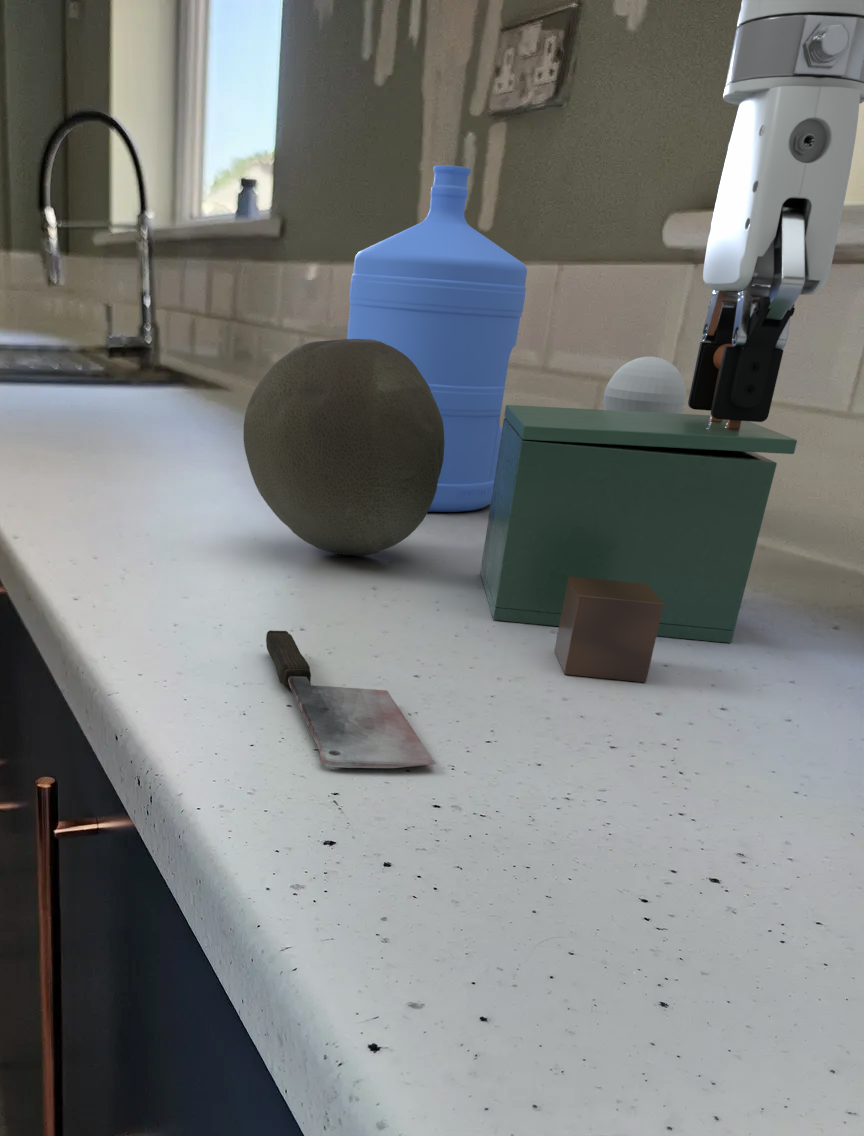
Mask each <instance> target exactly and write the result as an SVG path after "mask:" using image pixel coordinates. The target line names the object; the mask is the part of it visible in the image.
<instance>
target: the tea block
mask: <svg viewBox="0 0 864 1136" xmlns="http://www.w3.org/2000/svg"><path fill="white" fill-rule="evenodd" d="M663 605H664V604H663V602H662V601H661V600H660V599H659V598H658V596H657V595H656V594H655V593H654V592H653V590H652V589H651V588H650V587H649V586H648V584H645V583H634V582H624V581H613V580H603V579H592V578H581V577H571V576H569V577H568V580H567V586H566V591H565V596H564V602H563V607H562V612H561V618H560V623H559V626H558V629H557V635H556V640H555V644H554V645H555V646H554V654H555V655H556V658H557V660H558V662H559V665H560V667H561V669H562V672H563V674H564V675H567V676H576V677H577V676H578V677H584V678H585V677H586V678H596V679H597V678H599V679H608V680H615V681H626V682H637V683H647V680H648V677H649V672H650V667H651V662H652V657H653V653H654V649H655V646H656V645H655V644H656V641H657V640H656V639H657V637H658V636H657V632H658V627H659V623H660V618H661V614H662V609H663Z"/></svg>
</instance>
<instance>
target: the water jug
mask: <svg viewBox="0 0 864 1136" xmlns="http://www.w3.org/2000/svg"><path fill="white" fill-rule="evenodd" d="M471 170H472V169H471V168H470V167H467V166H466V167H465V166H459V165H434V166H433V169H432V171H433V173H434V177H433V185H432V186H431V188H430V205H429V211H428V213H427V214H426V215H427V216H425V218H424V219H423V220H422V221H421V222H419V223H417V224H415V225H413V226H410V227H408V228H406V229H404V230H402V231H400V232H398V233H396V234H394V235H392V236H389V237H387V238H385V239H383V240H381V241H378V242H377V243H375V244H373V245H369V247H366V248H364V249H362V250H360V251H358V252H357V254H355V257H354V260H353V261H354V262H353V273H352V274H351V279H350V286H349V295H348V296H349V300H348V302H349V312H348V313H349V315H348V324H347V335H346V339H372V340H377V341H381V342H383V343H385V344H386V345H389V346H392V347H393V348H395V349H397V350H398V351H400V352H402V353H403V354H404V355H406V356H407V357H408V358H409V359H410V360H411V361H412V362H413V363H414V365H415V366H416V367H417V369H418V370H419V372H420V373H421V375H422V377H423V378H424V379H425V381H426V382H427V384H428V386H429V388H430V390H431V393H432V395H433V397H434V400H435V401H436V404H437V406H438V409H439V411H440V414H441V417H442V421H443V426H444V458H443V464H442V469H441V473H440V476H439V479H438V484H437V490H436V493H435V496H434V499H433V502H432V504H431V506H430V508H429V510H428V512H429V513H461V512H462V513H463V512H472V511H477V510H480V509H483V508H485V507H487V506H488V505H491V499H492V493H493V486H494V480H495V473H496V467H497V460H498V454H499V447H500V441H501V434H502V428H503V427H501V426H500V425H501V423H500V422H501V414H502V407H503V401H504V396H505V395H504V394H505V387H506V381H507V374H508V369H509V361H510V357H511V353H512V350H513V348H514V347H515V346H517V341H518V334H519V329H520V328H519V327H520V320H521V317H522V316H523V311H524V307H525V300H526V291H527V288H526V281H527V275H528V274H527V273H528V268H527V265H526V264H525V263H524V262H522V261H520V260H519V259H518V258H516V257H515V256H514V255H512V254H510V253H509V252H508V251H506V250H505V249H503V248H502V247H501V246H499V245H498V244H496V243H495V242H493V241H492V240H490V239H489V238H488V237H487V236H485V235H484V234H482V233H480V232H479V231H478V230H476V229H475V228H473V227H472V226H470V224H469V223H468V222H467V220H466V216H465V209H466V202H467V199H468V193H469V190H468V188H467V187H468V186H467V185H468V179H469V178H468V177H469V176H470V174H471Z"/></svg>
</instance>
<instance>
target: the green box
mask: <svg viewBox="0 0 864 1136" xmlns="http://www.w3.org/2000/svg"><path fill="white" fill-rule="evenodd" d="M501 428H502V434H501V441H500V447H499V454H498V460H497V467H496V473H495V480H494V486H493V493H492V499H491V503H490V507H489V513H488V521H487V525H486V532H485V540H484V548H483V553H482V559H481V565H480V572H479V573H480V577H481V580H482V584H483V587H484V592H485V595H486V598H487V602H488V605H489V609H490V612H491V616H492V619H493V621H499V622H501V621H502V622H511V623H520V624H521V623H522V624H529V625H531V624H532V625H541V626H551V627H559V623H560V618H561V612H562V607H563V602H564V596H565V591H566V586H567V580H568V577H569V576H571V577H581V578H592V579H603V580H613V581H624V582H634V583H645V584H648V586H649V587H650V588H651V589H652V590H653V592H654V593H655V594H656V595H657V596H658V598H659V599H660V600H661V601H662V602H663V604H664V605H663V609H662V614H661V618H660V623H659V627H658V632H657V636H656V637H665V638H674V639H675V638H676V639H684V640H693V641H694V640H695V641H706V642H716V643H726V644H731V643H732V642H733V637H734V633H735V629H736V627H737V626H736V625H737V621H738V618H739V615H740V614H739V613H740V610H741V605H742V602H743V598H744V594H745V591H746V586H747V582H748V580H749V579H748V578H749V575H750V571H751V567H752V563H753V559H754V556H755V551H756V547H757V544H758V540H759V535H760V531H761V527H762V523H763V519H764V517H765V512H766V509H767V505H768V500H769V496H770V493H771V489H772V484H773V480H774V477H775V473H776V470H777V466H778V463H777V461H774V460H772V459H769V458H768V457H765V456H763V455H762V454H760V453H758V452H745V451H726V450H707V449H689V448H670V447H651V446H633V445H614V444H595V443H577V442H558V441H539V440H523V439H522V438H521V437H520V435H519V434H518V433H517V432H516V430H515V429H514V428H513V427H512V425H511V424H510V423H509V422H508V420H507V419H506V418H505V417H503V422H502V427H501Z"/></svg>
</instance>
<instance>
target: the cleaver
mask: <svg viewBox="0 0 864 1136" xmlns="http://www.w3.org/2000/svg"><path fill="white" fill-rule="evenodd" d="M265 636H266V637H265V642H266V643H265V644H266V650H267V652H268V654H269V656H270V659H271V661H272V662H273V665H274V668H275V670H276V674H277V677H278V681H279V683H280V684H282V685H283V687H284V688H288V689H289V688H290V690H291V692H292V695H293V697H294V699H295V701H296V703H297V706H298V708H299V710H300V712H301V714H302V716H303V718H304V721H305V723H306V725H307V727H308V730H309V732H310V733H311V736H312V739H313V740H314V742H315V745H316V747H317V749H318V751H319V758H318V760H319V763H321V765H323V766H326V767H331V768H344V769H345V768H347V769H398V768H409V767H418V766H419V767H420V766H429V765H436V761H435V760H434V759H433V757H432V756H431V754H430V753H429V751H428V750H427V748H426V747H425V745H424V744H423V742H422V741H421V739H420V738H419V736H418V735H417V732H415V730H414V728H413V727H412V725H411V724H410V722H409V721H408V719H407V718H406V716H405V714H404V713H403V712H402V710H401V709H400V707H399V706H398V704H397V703H396V701H395V700H394V698H393V697H392V695H391V694H390V693H389V691H388V690H387V689H386V690H385V689H374V688H373V689H371V688H359V687H344V686H328V685H313V684H311V681H312V680H311V679H312V674H311V673H312V672H311V666H310V664H309V663H308V662H307V660H306V658H305V657H304V656H303V654H302V653H301V652H300V651H301V650H300V649H299V647H298V645H297V644H296V641H295V639H294V637H293V635H292V634H291V633H289V632H288V631H287V630H271V629H270V630H268V631H267V633H266V635H265Z"/></svg>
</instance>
